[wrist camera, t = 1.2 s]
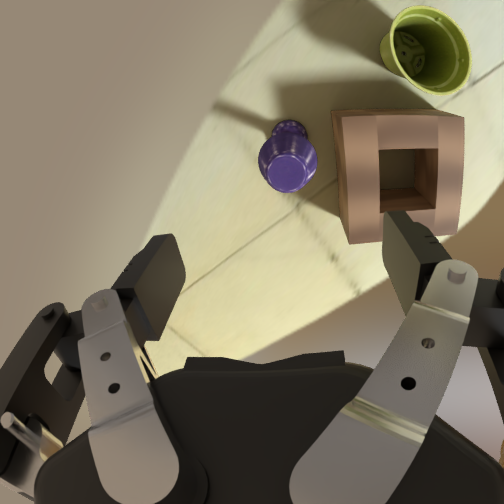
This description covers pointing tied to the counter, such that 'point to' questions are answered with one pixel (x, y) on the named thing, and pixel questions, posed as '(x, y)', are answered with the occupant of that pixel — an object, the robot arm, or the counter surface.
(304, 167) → the toy lamp
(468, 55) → the plant pot
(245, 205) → the counter surface
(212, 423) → the robot arm
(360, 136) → the socket block
